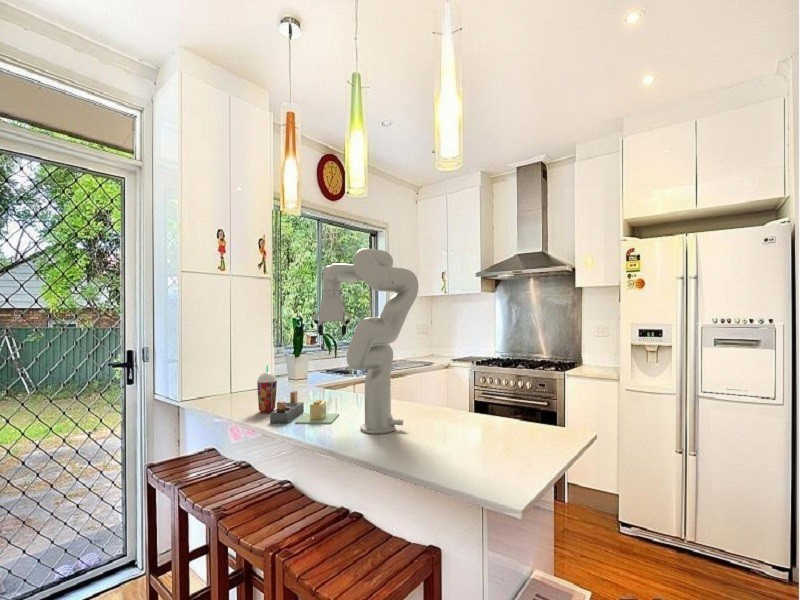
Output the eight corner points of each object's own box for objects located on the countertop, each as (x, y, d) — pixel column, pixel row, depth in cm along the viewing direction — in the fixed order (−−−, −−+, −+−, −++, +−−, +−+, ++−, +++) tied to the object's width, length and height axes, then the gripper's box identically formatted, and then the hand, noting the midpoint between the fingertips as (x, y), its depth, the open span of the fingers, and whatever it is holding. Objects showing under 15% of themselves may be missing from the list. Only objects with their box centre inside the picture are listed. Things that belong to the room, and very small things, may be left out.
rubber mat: (339, 415, 169) (339, 413, 169) (331, 424, 155) (331, 422, 155) (306, 415, 170) (306, 413, 170) (295, 423, 156) (295, 422, 156)
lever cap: (325, 415, 166) (325, 398, 166) (321, 420, 159) (321, 402, 159) (315, 415, 166) (315, 398, 166) (310, 419, 159) (310, 402, 160)
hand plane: (303, 411, 176) (303, 390, 177) (287, 423, 156) (287, 400, 157) (287, 411, 177) (287, 390, 177) (269, 423, 157) (270, 399, 157)
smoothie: (281, 411, 178) (281, 365, 179) (265, 415, 171) (265, 367, 172) (268, 409, 182) (268, 364, 183) (252, 412, 175) (252, 366, 176)
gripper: (353, 295, 175) (354, 334, 175) (314, 295, 177) (314, 335, 176) (350, 294, 168) (350, 335, 167) (309, 294, 169) (309, 335, 168)
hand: (332, 335), depth 172 cm, fingers open, 9 cm apart
